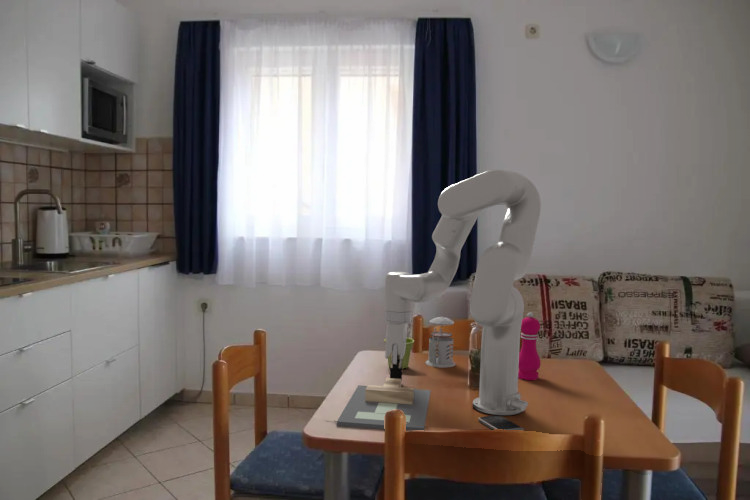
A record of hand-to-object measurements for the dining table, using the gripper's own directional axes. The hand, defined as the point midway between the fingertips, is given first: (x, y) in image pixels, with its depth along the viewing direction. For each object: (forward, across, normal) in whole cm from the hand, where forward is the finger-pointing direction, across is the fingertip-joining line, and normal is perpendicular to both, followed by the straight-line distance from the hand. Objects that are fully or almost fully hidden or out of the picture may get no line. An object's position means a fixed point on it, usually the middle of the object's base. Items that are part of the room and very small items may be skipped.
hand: (395, 381), depth 178 cm
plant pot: (+2, -22, -2) cm, 23 cm away
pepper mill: (+2, -20, +38) cm, 43 cm away
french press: (+2, -30, +11) cm, 32 cm away
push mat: (+2, +19, 0) cm, 19 cm away
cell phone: (+2, +26, +28) cm, 38 cm away
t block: (+1, +11, 0) cm, 11 cm away
